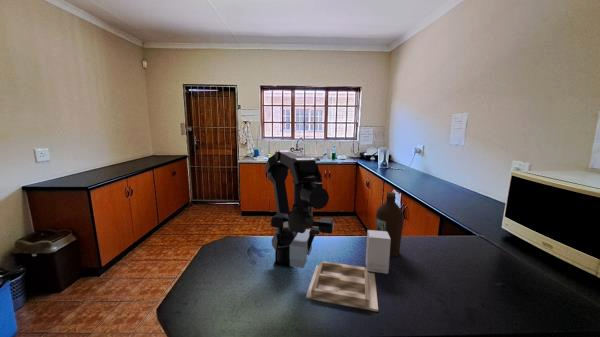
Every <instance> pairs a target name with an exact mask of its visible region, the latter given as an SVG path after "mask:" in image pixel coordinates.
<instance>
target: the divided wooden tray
mask: <svg viewBox="0 0 600 337" xmlns="http://www.w3.org/2000/svg"><path fill="white" fill-rule="evenodd" d="M377 294H378V293H377V284H376V276H375V272H369V271H367V268H366V266H359V265H353V264H352V265H351V264H345V263H337V262H331V261H324V260H323V261H322V260H320V263H319V265H318V264H316V266H315V269H314V272H313V275H312V277H311V280H310V283H309V286H308V289H307V292H306V294H305V299H309V300H315V301H320V302H324V303H329V304H335V305H341V306H347V307H352V308H356V309H360V310H361V309H362V310H368V311H373V312H379V303H378V295H377Z"/></svg>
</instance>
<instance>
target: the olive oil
mask: <svg viewBox="0 0 600 337" xmlns="http://www.w3.org/2000/svg"><path fill="white" fill-rule="evenodd" d="M396 194H397V193H396V192H394V191H387V192H386V198H385V202H383V204H381V205H380V206H379V207H378V208H377V210H376V213H375V231H386V232H388V234H389V236H390V239H391V243H390V257H389V258H396V257H398V256H399V255H400V252H401V244H402V243H401V242H402V234H403V228H404V221H405V216H404V211H403V210H402V209H401V207H400V206H399V205H398V204H397V203H396V198H397V197H396Z"/></svg>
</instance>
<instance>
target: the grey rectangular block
mask: <svg viewBox="0 0 600 337" xmlns="http://www.w3.org/2000/svg"><path fill="white" fill-rule="evenodd" d="M310 230H311V229H309V228H308V229H306V231H305V232H304V233H299V232H298V234H297V235H296V237H295V238H294V240H293V241H292V243H291V244H290V266H291V267H295V268H301V269H305V265H306V263H307V257H308V256H309V255H310V254H311V253H312V249H313V244H312V245H311V247H310V250H309V251H308V241H309V232H310Z"/></svg>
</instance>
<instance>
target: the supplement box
mask: <svg viewBox="0 0 600 337" xmlns="http://www.w3.org/2000/svg"><path fill="white" fill-rule="evenodd" d="M366 233H367V234H366V247H365V267H366V268H367V271H368V272H369V273H378V274H386V275H387V274H389V269H390V258H391V257H390V243H391V239H390V236H389V234H388V232H386V231H376V230H375V229H373V230H372V229H367V232H366Z"/></svg>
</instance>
